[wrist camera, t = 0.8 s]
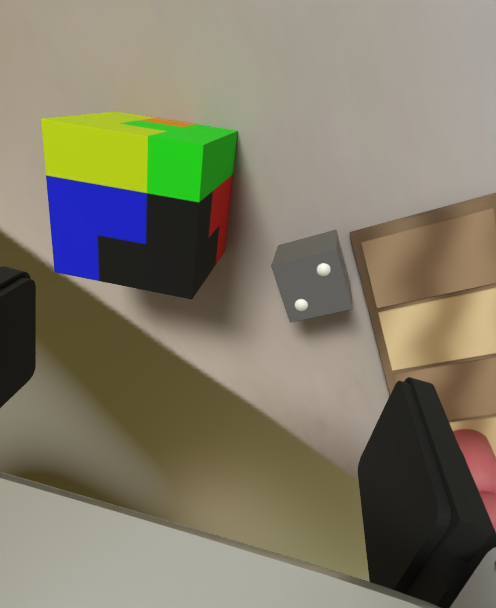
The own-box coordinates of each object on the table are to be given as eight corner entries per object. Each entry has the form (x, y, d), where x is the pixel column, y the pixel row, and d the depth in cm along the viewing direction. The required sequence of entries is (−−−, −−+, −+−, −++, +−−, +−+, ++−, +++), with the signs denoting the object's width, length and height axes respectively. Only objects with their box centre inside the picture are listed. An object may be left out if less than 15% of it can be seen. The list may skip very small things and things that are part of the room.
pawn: (486, 426, 40) (527, 514, 31) (492, 461, 41) (532, 554, 33) (436, 432, 41) (462, 519, 33) (443, 466, 42) (470, 556, 34)
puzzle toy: (117, 231, 39) (54, 271, 30) (116, 111, 34) (41, 118, 25) (224, 250, 38) (191, 299, 29) (237, 130, 33) (203, 144, 24)
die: (336, 229, 35) (336, 249, 31) (350, 283, 37) (352, 309, 33) (278, 245, 37) (271, 266, 32) (294, 296, 39) (289, 323, 34)
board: (497, 192, 32) (503, 196, 31) (526, 459, 42) (531, 469, 41) (349, 232, 35) (350, 236, 34) (409, 471, 45) (411, 480, 44)
